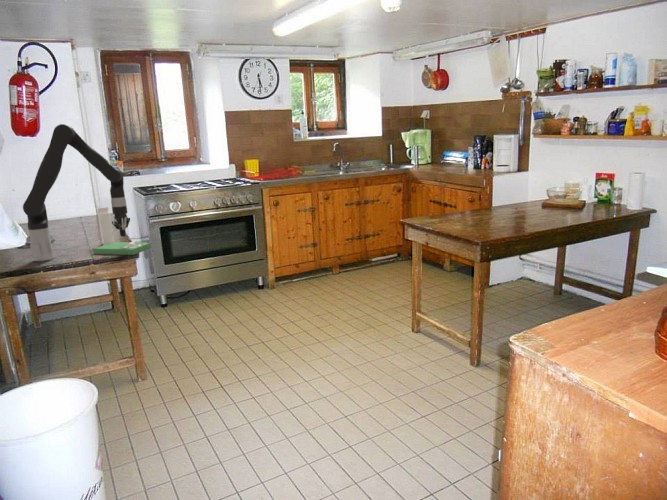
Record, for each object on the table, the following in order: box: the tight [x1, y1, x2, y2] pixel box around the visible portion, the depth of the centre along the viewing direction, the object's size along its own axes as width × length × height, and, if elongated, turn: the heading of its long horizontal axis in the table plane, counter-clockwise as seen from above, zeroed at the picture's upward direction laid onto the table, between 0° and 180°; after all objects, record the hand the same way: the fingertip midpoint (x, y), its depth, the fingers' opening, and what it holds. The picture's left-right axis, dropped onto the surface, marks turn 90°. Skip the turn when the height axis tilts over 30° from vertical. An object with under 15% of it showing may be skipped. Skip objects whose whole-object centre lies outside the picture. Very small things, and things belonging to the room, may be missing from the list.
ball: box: [127, 241, 136, 247], centre depth 276 cm, size 5×5×5 cm
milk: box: [97, 207, 115, 245], centre depth 297 cm, size 6×6×22 cm
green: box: [92, 241, 152, 256], centre depth 278 cm, size 16×26×3 cm, turn 74°
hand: (123, 236), depth 276 cm, fingers closed
